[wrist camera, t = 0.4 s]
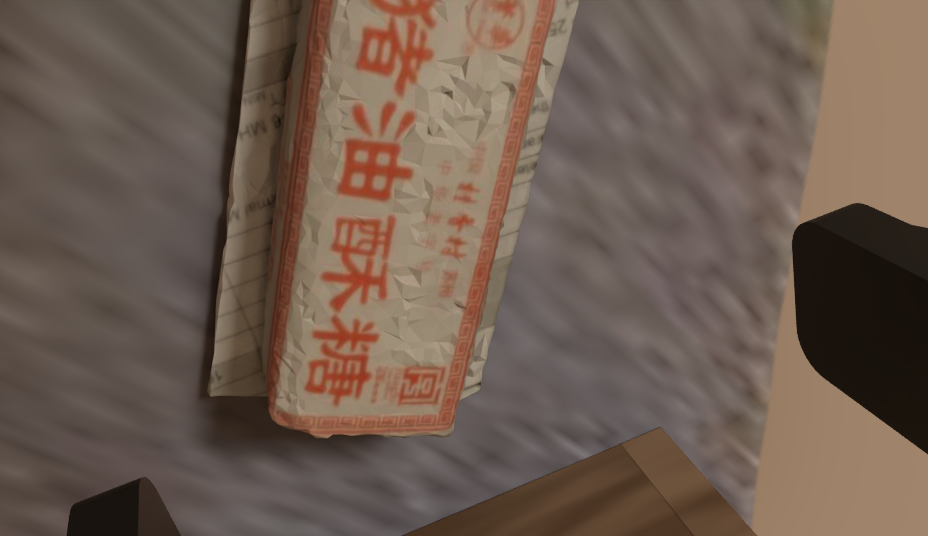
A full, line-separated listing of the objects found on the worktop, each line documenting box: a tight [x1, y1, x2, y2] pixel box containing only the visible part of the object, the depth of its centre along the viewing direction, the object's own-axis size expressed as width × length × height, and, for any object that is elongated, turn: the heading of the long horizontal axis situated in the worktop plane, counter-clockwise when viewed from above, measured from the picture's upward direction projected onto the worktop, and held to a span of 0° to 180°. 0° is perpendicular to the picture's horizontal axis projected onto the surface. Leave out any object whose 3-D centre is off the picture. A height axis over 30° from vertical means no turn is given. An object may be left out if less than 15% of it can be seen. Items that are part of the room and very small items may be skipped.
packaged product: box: [207, 0, 579, 438], centre depth 27 cm, size 18×5×10 cm
